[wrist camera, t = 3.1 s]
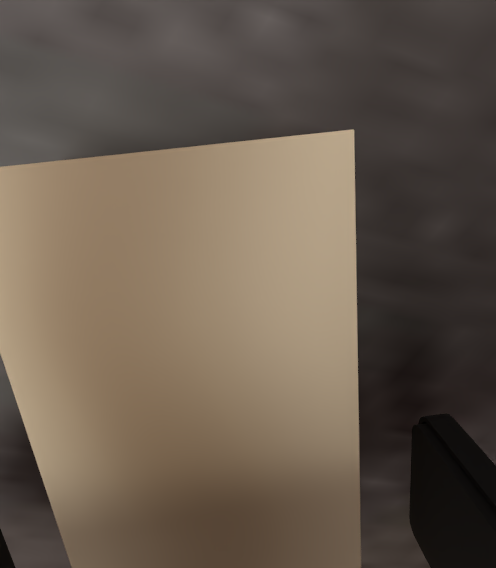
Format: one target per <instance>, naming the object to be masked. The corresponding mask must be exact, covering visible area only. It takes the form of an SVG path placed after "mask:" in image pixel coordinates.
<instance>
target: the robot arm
mask: <svg viewBox="0 0 496 568" xmlns="http://www.w3.org/2000/svg"><path fill="white" fill-rule="evenodd" d="M410 524H411V528H412V531H413V534H414V536H415V538H416V540H417V542H418V544H419V546H420V548H421V550H422V552H423V554H424V556H425V558H426V559H427V561H428V563H429V565H430V567H431V568H496V466H495V464H494V463H493V462H492V461H491V460H490V459H489V458H488V457H487V455H486V454H485V453H484V452H483V451H482V450H481V449H480V448H479V446H478V445H477V444H476V443H475V442H474V441H473V440H472V439H471V437H470V436H469V435H468V434H467V433H466V432H465V431H464V430H463V428H462V427H461V426H460V425H459V424H458V423H457V422H456V421H455V419H454V418H453V417H452V416H450V415H449V414H440V415H433V416H425V417H421V418H420V420H419V424H418V425H414V426H413V429H412V454H411V487H410ZM0 568H15V566H14V563H13V560H12V558H11V555H10V553H9V550H8V547H7V545H6V542H5V540H4V537H3V534H2V532H1V529H0Z"/></svg>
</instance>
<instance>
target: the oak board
mask: <svg viewBox="0 0 496 568" xmlns="http://www.w3.org/2000/svg"><path fill="white" fill-rule="evenodd" d="M0 353H1V356H2V359H3V362H4V365H5V368H6V371H7V374H8V377H9V380H10V383H11V386H12V389H13V392H14V395H15V398H16V402H17V405H18V408H19V411H20V414H21V417H22V420H23V423H24V426H25V429H26V432H27V435H28V438H29V441H30V444H31V447H32V450H33V453H34V456H35V459H36V462H37V465H38V468H39V471H40V474H41V477H42V480H43V483H44V486H45V489H46V492H47V495H48V498H49V501H50V504H51V507H52V510H53V513H54V516H55V519H56V522H57V525H58V528H59V531H60V534H61V537H62V540H63V543H64V546H65V549H66V552H67V555H68V558H69V561H70V564H71V567H72V568H361V527H360V465H359V402H358V340H357V278H356V216H355V153H354V129H353V130H343V131H334V132H325V133H315V134H306V135H296V136H287V137H278V138H268V139H259V140H249V141H240V142H231V143H221V144H212V145H202V146H193V147H183V148H174V149H165V150H155V151H146V152H136V153H127V154H118V155H108V156H99V157H89V158H80V159H71V160H61V161H52V162H42V163H33V164H24V165H14V166H5V167H0Z"/></svg>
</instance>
